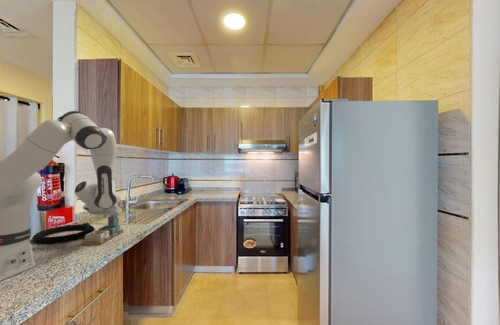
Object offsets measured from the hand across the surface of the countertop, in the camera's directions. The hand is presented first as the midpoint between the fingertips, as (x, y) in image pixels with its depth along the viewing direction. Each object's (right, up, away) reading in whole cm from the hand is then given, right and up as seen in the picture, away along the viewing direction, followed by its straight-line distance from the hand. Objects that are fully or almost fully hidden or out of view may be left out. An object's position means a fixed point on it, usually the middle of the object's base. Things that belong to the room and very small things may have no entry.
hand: (111, 216), depth 144 cm
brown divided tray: (+4, -8, -15) cm, 17 cm away
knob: (0, -8, +2) cm, 8 cm away
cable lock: (-20, -9, -10) cm, 24 cm away
